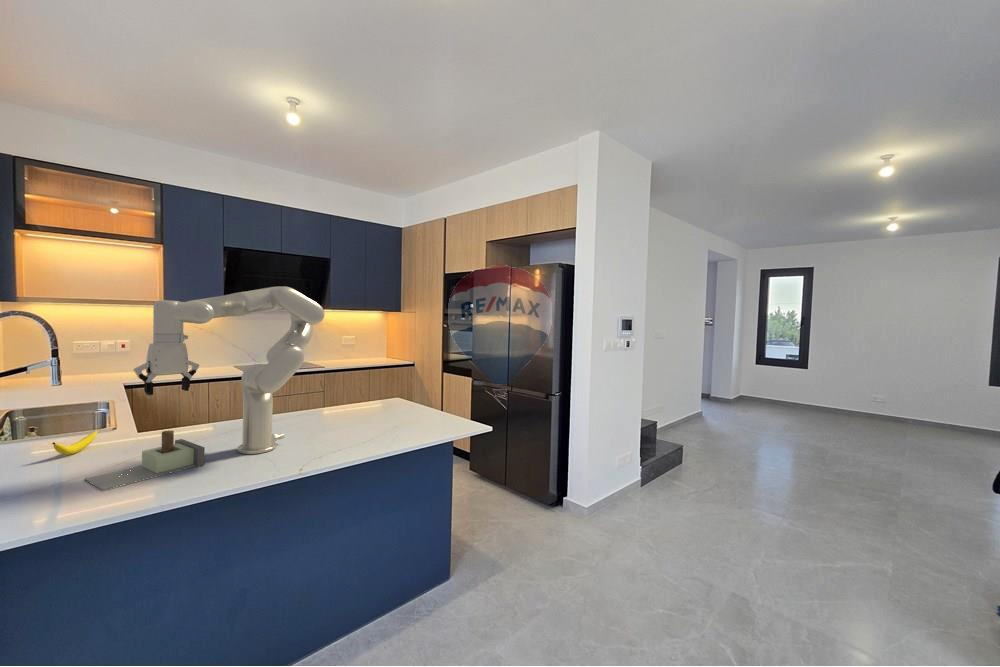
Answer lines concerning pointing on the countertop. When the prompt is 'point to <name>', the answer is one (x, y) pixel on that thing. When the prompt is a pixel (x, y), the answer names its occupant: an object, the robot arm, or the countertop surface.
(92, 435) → the banana
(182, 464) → the socket block
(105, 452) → the countertop surface
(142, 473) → the grey l-shaped plate
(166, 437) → the dowel
